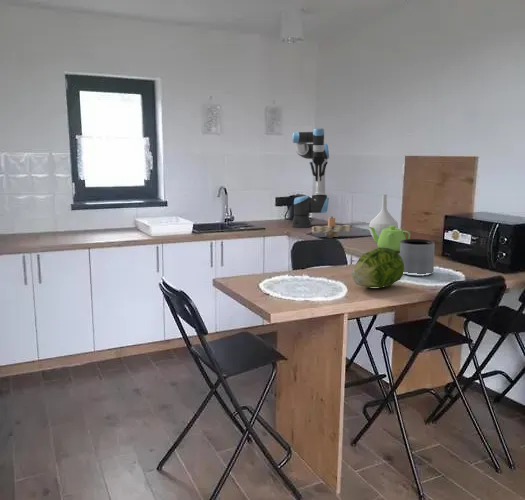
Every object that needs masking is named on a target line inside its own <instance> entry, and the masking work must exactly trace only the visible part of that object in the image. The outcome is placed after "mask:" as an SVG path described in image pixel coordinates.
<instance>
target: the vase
mask: <svg viewBox="0 0 525 500" xmlns="http://www.w3.org/2000/svg"><path fill="white" fill-rule="evenodd" d="M387 196H388V195H387V194H382V196H381V209H380V211H379V212H378V214H377V215H376V216H374V218H373V219H372V220H370V222H369V225H368V230H369V233H370V236H371V237H372V238H373V233H372V230H371V229H370V228H369V227H373V228H374V229H375V231H376V235H377V236H378V237H379V236H380V234H381V232H382V230H383V229H385V228H390V227H389V226H396V228H398V229H399V224H398V221H397V220H396V219H395V218H394V217H393V216H392V215H391V213H390V212H389V211H388V209H387V208H388V207H387V204H388V203H387V202H388V201H387V199H388V198H387Z"/></svg>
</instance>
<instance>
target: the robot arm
mask: <svg viewBox="0 0 525 500" xmlns="http://www.w3.org/2000/svg"><path fill="white" fill-rule="evenodd" d="M291 137H292V143H293V144H296V148H295V150H296V153H297V155H299V157H301V158H304V159H306V160H307V159H309V160H310V159H311V161H309V162H308V164H309V165H310V169H311V173H312V176H313V194H312V195H311V197H310V195H304V196H303V195H302V196H301V195H300V196H297V197H294V200H293V219H292V222H291V228H296V229H297V228H299V229H302V228H303V229H305V228H312V222H311V218H310V214H323V213H324V214H326V213H327V212H328V210H329V209H328V208H329V207H328V206H329V200H330V198H329V197H328V194H326V168H327V164H328V159H330V154H329V146H328V144H327V143H325V129H324V128H313V129H312V131H294V132H293V133H292V136H291Z"/></svg>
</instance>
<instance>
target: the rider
mask: <svg viewBox="0 0 525 500" xmlns="http://www.w3.org/2000/svg"><path fill="white" fill-rule="evenodd" d="M335 225H336V217H334V216H330V217H328V218H327V226H328V227H332V226H333V227H335Z"/></svg>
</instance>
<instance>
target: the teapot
mask: <svg viewBox="0 0 525 500" xmlns="http://www.w3.org/2000/svg"><path fill="white" fill-rule="evenodd" d="M389 227H390V228H385V229H383V230H382V232H381V234H380V236H379V237H378V236H377V235H376V231H375V229H374V228H373V227H369V226H368V229H369V228H370V229H371V230H372V233H373V237H372V238H373V240H374V242H375V243H377V244H376V245H377V247H378V248H390V249H393V250H394V251H396V252H397V253H398V252H400V241H402V240H405V239H411V232H410V231H408V230H403V229H402V228H399V227H398V228H396V226H389ZM405 233H406V234H407V236H408V237H407V238H406V235H405Z"/></svg>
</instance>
